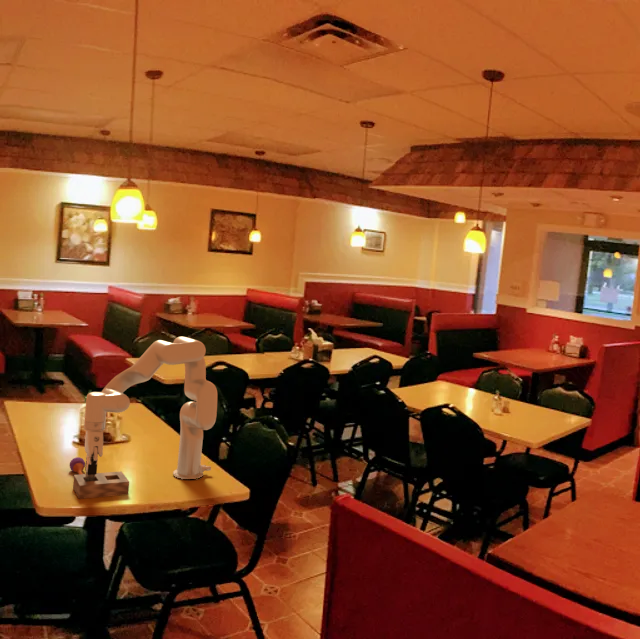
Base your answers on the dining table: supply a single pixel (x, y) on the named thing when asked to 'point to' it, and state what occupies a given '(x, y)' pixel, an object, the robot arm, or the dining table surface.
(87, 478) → the steel pin
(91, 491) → the walnut block
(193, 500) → the dining table surface
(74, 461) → the kendama
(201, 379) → the robot arm
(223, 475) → the dining table surface
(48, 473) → the dining table surface
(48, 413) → the dining table surface
